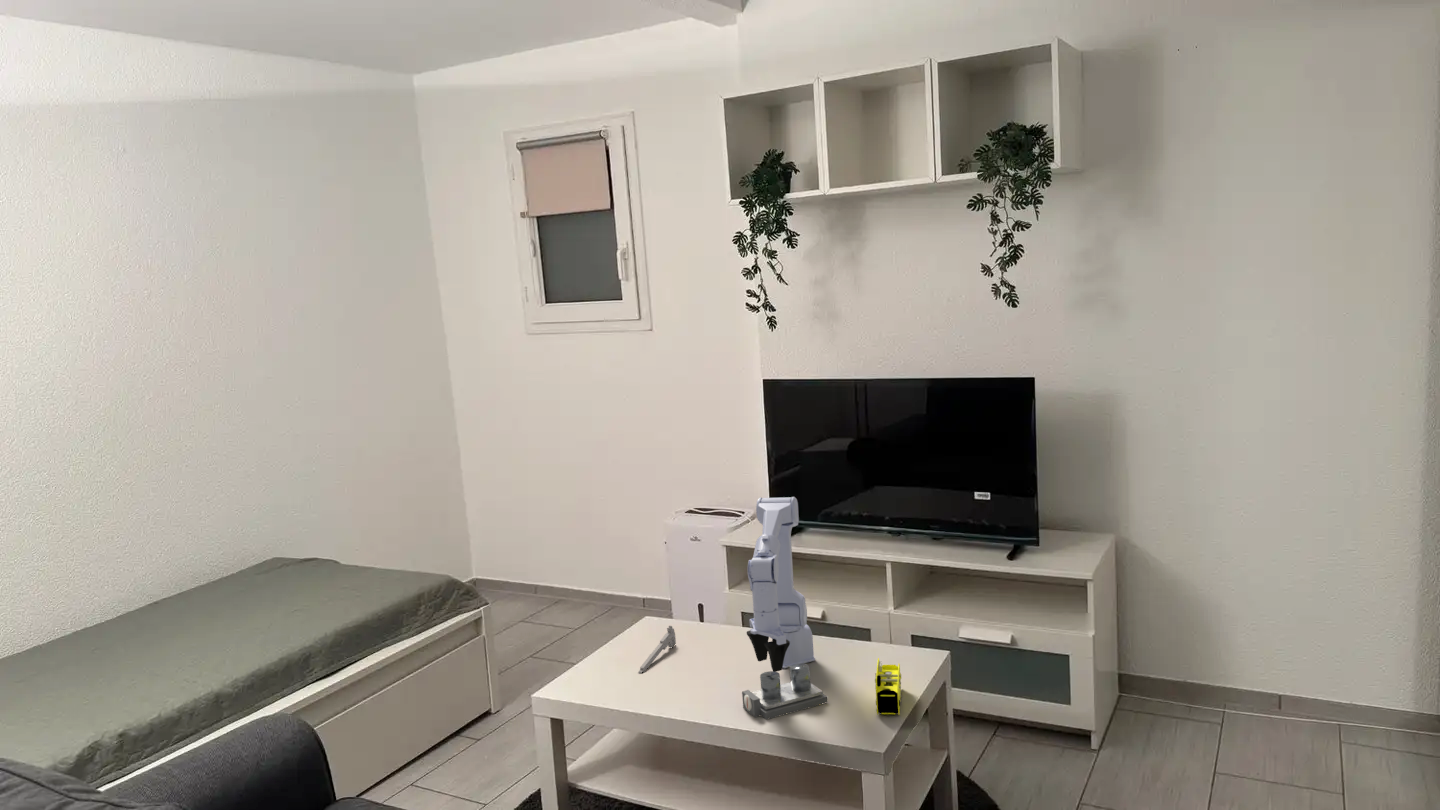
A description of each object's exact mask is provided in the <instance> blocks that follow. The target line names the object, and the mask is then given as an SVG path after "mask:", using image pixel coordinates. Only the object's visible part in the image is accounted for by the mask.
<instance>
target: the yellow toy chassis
mask: <svg viewBox="0 0 1440 810" xmlns="http://www.w3.org/2000/svg"><path fill="white" fill-rule="evenodd" d="M876 663H877V664H876V672H875V673H874V674H875V677H874V683H875V688H874V689H875V705H876V714H877V715H879V714H880V715H882V716H895V715H897V714H898V715H899V716H900V714H901V713H900V710H901V708H900V707H901V703H902V699H901V698H902V697H903V696H902V694H901V693H902V692H901V691H902V690H901V689H902V682H901V680H902V674H901V664H900V663H899V662H898V665H896V664H883V662H882V661H880V658H879V657H878V658H877V662H876Z"/></svg>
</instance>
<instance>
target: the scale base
mask: <svg viewBox="0 0 1440 810" xmlns="http://www.w3.org/2000/svg"><path fill="white" fill-rule="evenodd" d="M752 692H753V691H751V690H749V689H746V690H743V691H742V692H741V695H742V708H743V709H744V710H745V709H746V712H748V713H749V712H750V713H749V714H750V715H751V714H752V715H751V716H753V717H754V718H757V717H760V716H759V715H761V717H762V716H763V717H762V718H764V719H765V720H769V719H768V718H770V719H773V718H776V717H775V716H777V717H780V716H779V715H781V716H784V715H787V714H786V713H788V714H791V713H790V712H792V713H795V712H798V711H797V710H799V711H802V710H801V709H803V710H805V708H806V709H809V708H808V707H810V708H814V707H816V705H817V706H820V705H819V704H821V705H823V704H822V703H825V702H828V696H827V695H825V694H824V693H823V695H819V696H815V697H812V698H808V699H804V700H801V701H797V702H793V703H789V704H786V705H782V706H778V707H774V708H771V709H767V710H765V709H764V708H762V707H761V706H760V698H758V697H757V696H756V695H754V694H753V693H752ZM825 704H826V703H825ZM813 706H814V707H813ZM794 711H795V712H794ZM783 714H784V715H783ZM756 716H757V717H756ZM772 717H773V718H772Z"/></svg>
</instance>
